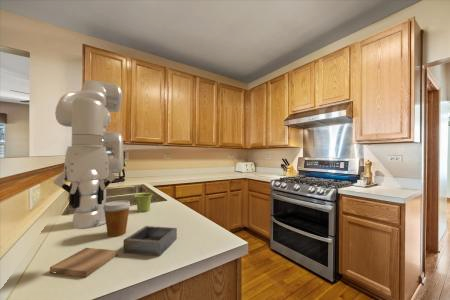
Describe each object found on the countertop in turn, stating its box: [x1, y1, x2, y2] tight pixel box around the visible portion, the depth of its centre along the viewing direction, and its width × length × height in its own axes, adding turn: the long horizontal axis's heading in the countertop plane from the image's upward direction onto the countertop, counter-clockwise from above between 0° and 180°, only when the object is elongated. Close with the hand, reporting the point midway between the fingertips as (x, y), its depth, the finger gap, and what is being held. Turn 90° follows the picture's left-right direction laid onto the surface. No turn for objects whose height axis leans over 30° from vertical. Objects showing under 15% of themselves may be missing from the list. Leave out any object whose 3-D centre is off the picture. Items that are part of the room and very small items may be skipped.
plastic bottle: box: [72, 170, 100, 230], centre depth 56 cm, size 6×7×20 cm
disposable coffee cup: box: [103, 199, 131, 238], centre depth 77 cm, size 10×10×12 cm
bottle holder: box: [123, 225, 178, 257], centre depth 67 cm, size 12×12×4 cm
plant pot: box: [134, 192, 153, 213], centre depth 109 cm, size 9×9×9 cm
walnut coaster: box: [49, 247, 118, 278], centre depth 56 cm, size 11×11×2 cm
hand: (87, 204), depth 56 cm, fingers closed on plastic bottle, 5 cm apart
